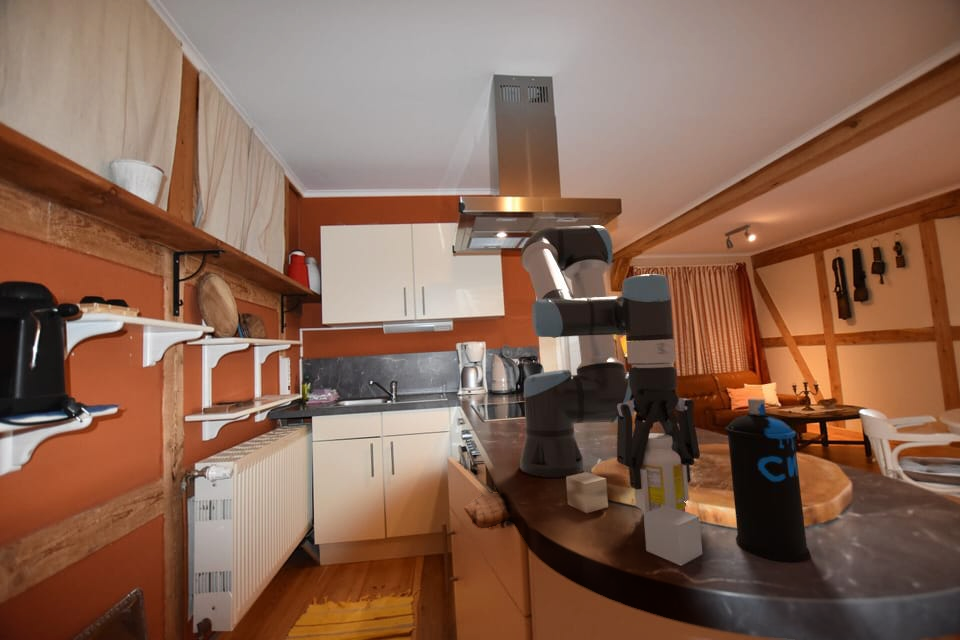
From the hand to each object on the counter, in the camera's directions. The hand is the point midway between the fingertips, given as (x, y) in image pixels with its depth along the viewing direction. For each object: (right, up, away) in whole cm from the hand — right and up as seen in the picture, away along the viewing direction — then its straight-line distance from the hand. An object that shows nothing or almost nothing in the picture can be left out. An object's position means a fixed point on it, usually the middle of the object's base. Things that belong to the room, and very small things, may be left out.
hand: (662, 505), depth 66 cm
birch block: (-11, -3, +6) cm, 13 cm away
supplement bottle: (0, -2, 0) cm, 2 cm away
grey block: (-4, -1, -11) cm, 12 cm away
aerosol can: (+10, -1, -11) cm, 15 cm away
